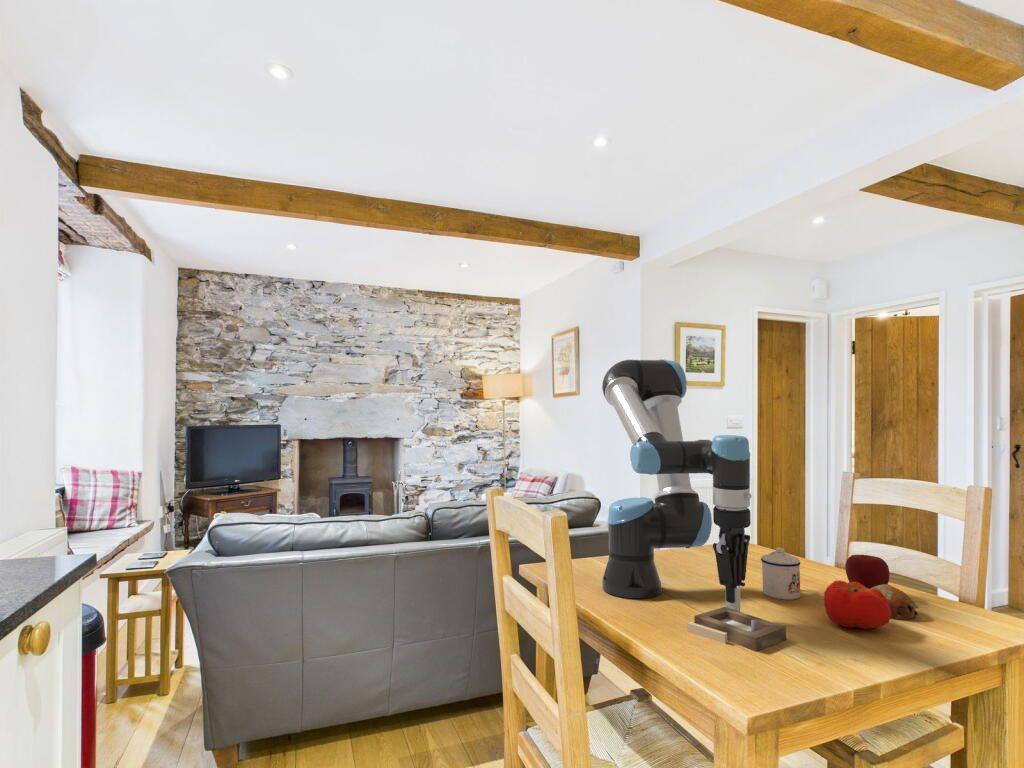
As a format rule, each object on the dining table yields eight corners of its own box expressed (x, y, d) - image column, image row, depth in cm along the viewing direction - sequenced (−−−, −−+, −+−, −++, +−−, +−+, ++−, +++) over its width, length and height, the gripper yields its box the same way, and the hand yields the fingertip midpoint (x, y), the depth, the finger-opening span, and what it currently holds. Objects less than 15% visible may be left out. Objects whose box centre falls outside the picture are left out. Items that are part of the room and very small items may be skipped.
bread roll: (888, 620, 134) (872, 585, 137) (931, 613, 126) (913, 577, 129) (864, 628, 129) (848, 592, 132) (907, 621, 121) (889, 583, 125)
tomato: (887, 643, 111) (885, 599, 112) (817, 628, 119) (815, 586, 120) (896, 624, 122) (894, 583, 122) (831, 611, 130) (829, 572, 130)
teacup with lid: (796, 603, 135) (795, 554, 136) (757, 595, 141) (755, 548, 142) (808, 591, 144) (806, 545, 145) (770, 584, 150) (769, 540, 151)
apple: (866, 587, 148) (865, 548, 148) (900, 598, 138) (898, 557, 139) (837, 590, 145) (836, 551, 146) (869, 602, 136) (868, 560, 136)
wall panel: (661, 634, 116) (661, 609, 117) (701, 615, 127) (700, 593, 127) (768, 669, 100) (767, 641, 100) (803, 644, 111) (802, 619, 111)
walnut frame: (694, 627, 116) (694, 615, 116) (724, 617, 121) (724, 606, 122) (756, 651, 104) (755, 638, 104) (786, 639, 110) (785, 626, 110)
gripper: (734, 514, 114) (736, 630, 114) (761, 505, 123) (763, 612, 122) (700, 508, 119) (702, 619, 119) (728, 500, 128) (730, 603, 128)
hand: (733, 615), depth 121 cm, fingers closed
